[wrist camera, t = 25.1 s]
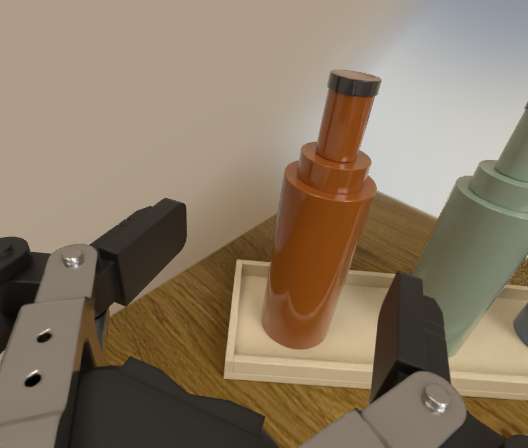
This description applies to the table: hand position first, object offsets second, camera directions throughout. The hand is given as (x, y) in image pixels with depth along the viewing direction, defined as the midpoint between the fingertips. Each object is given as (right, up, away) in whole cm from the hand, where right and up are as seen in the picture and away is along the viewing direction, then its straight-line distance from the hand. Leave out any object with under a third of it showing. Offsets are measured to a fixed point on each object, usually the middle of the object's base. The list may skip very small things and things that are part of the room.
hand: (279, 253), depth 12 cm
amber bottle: (+2, -7, +17) cm, 19 cm away
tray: (+14, -9, +18) cm, 25 cm away
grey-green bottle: (+14, -9, +18) cm, 24 cm away
